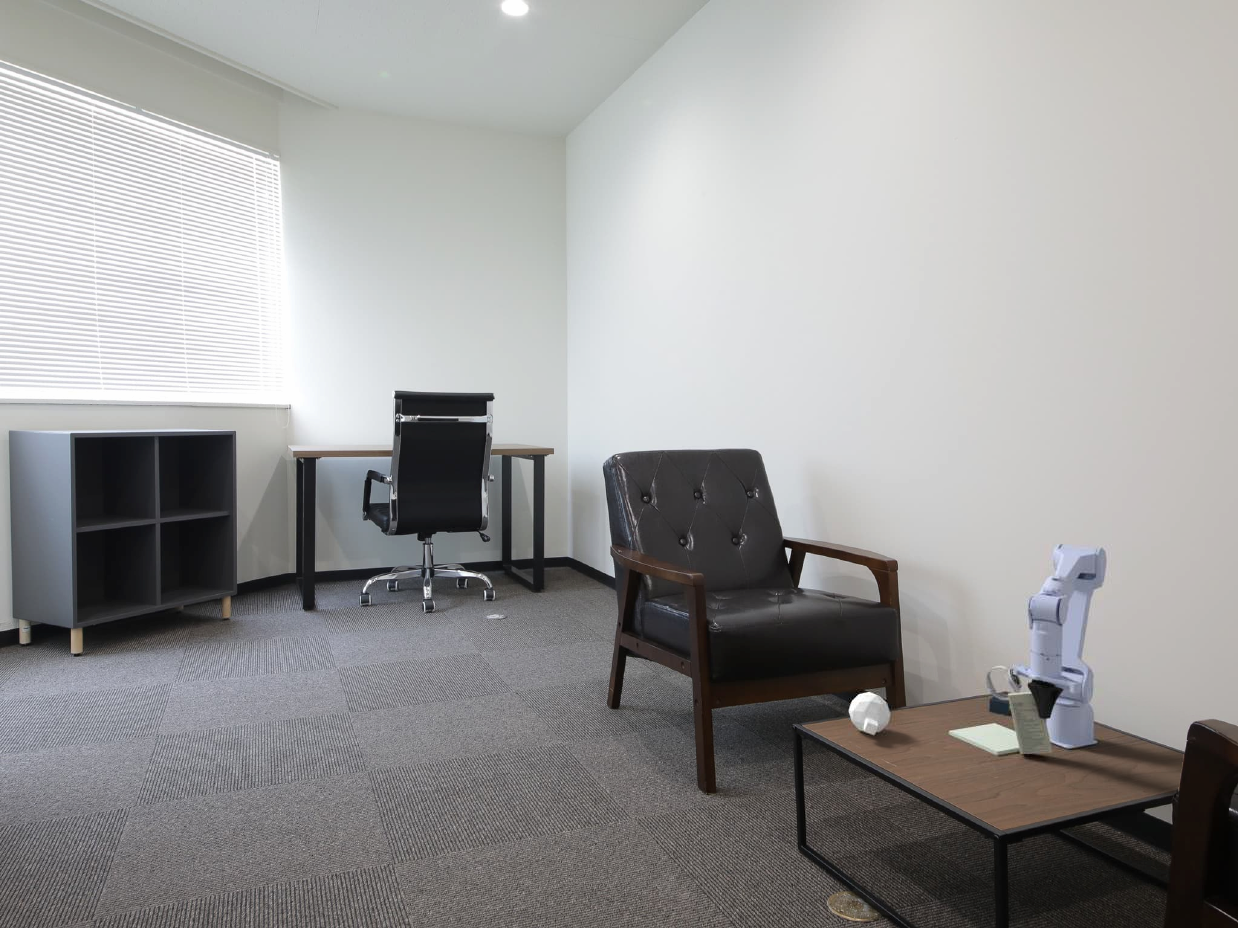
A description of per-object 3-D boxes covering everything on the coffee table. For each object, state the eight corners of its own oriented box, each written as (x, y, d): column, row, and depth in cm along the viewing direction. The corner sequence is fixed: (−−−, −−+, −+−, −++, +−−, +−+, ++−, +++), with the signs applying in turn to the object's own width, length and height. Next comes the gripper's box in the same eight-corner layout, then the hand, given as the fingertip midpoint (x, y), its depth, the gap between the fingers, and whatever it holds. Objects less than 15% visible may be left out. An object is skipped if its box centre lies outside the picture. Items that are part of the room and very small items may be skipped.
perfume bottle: (843, 713, 190) (844, 737, 178) (856, 679, 188) (859, 701, 177) (879, 727, 188) (883, 753, 177) (893, 693, 186) (898, 717, 175)
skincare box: (1052, 750, 171) (1040, 690, 173) (1053, 753, 167) (1040, 692, 170) (1018, 751, 173) (1007, 692, 176) (1018, 754, 169) (1007, 693, 172)
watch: (1016, 717, 194) (1017, 672, 194) (981, 710, 200) (982, 665, 200) (1023, 712, 199) (1024, 667, 198) (989, 704, 204) (990, 661, 204)
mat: (994, 726, 188) (994, 723, 188) (1044, 746, 176) (1044, 742, 176) (949, 734, 183) (949, 730, 183) (997, 755, 170) (997, 751, 170)
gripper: (1003, 646, 173) (1001, 709, 173) (1064, 663, 159) (1062, 731, 160) (1026, 643, 175) (1025, 705, 176) (1088, 660, 162) (1087, 727, 162)
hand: (1044, 717), depth 168 cm, fingers closed
